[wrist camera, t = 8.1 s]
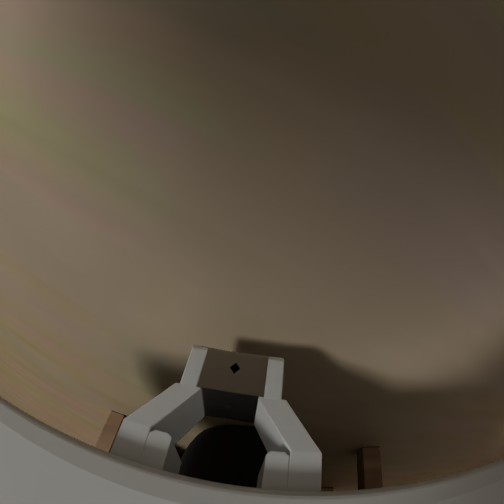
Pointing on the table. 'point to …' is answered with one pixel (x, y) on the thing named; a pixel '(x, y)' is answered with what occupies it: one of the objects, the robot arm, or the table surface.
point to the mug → (225, 456)
